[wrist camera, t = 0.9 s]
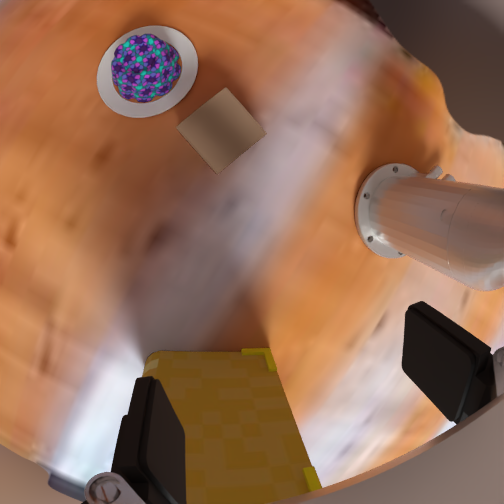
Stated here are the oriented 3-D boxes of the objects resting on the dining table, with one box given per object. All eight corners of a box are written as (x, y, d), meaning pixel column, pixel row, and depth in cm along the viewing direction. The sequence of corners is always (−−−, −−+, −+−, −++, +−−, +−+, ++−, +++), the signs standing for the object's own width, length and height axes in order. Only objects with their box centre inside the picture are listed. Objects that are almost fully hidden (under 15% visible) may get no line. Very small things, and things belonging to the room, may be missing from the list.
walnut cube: (222, 100, 31) (225, 87, 26) (256, 139, 33) (267, 133, 27) (181, 134, 32) (175, 127, 26) (215, 173, 34) (217, 174, 28)
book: (269, 347, 40) (330, 508, 16) (265, 385, 42) (312, 536, 18) (143, 346, 38) (103, 513, 14) (148, 385, 39) (125, 541, 15)
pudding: (217, 83, 31) (219, 69, 26) (126, 138, 31) (113, 134, 26) (169, 12, 27) (165, -8, 22) (84, 64, 28) (67, 51, 23)
